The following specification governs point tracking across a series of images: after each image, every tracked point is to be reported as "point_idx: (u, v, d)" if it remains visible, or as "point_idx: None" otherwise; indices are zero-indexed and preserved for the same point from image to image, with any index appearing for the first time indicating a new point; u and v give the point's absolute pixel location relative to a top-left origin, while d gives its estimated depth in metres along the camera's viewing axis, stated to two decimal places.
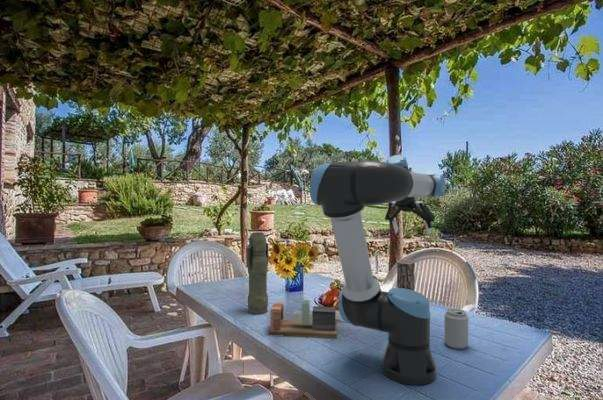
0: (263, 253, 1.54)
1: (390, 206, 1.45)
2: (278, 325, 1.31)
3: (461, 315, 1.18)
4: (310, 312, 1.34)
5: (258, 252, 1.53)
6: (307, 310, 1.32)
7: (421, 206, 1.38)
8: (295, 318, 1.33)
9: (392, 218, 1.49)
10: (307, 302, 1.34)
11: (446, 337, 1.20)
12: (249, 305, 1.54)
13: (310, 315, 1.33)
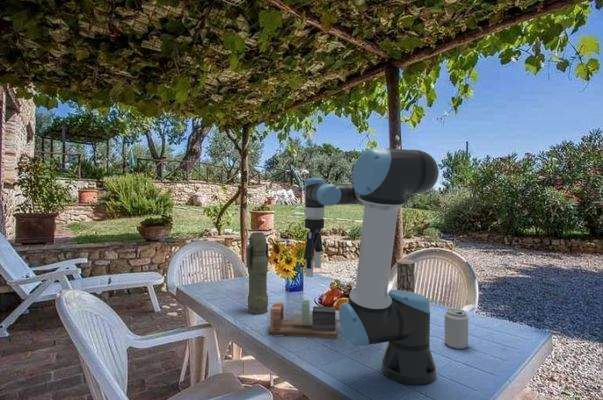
0: (263, 253, 1.54)
1: (313, 237, 1.30)
2: (278, 325, 1.31)
3: (461, 315, 1.18)
4: (310, 312, 1.34)
5: (258, 252, 1.53)
6: (307, 310, 1.32)
7: (320, 231, 1.42)
8: (295, 318, 1.33)
9: (312, 254, 1.30)
10: (307, 302, 1.34)
11: (446, 337, 1.20)
12: (249, 305, 1.54)
13: (310, 315, 1.33)
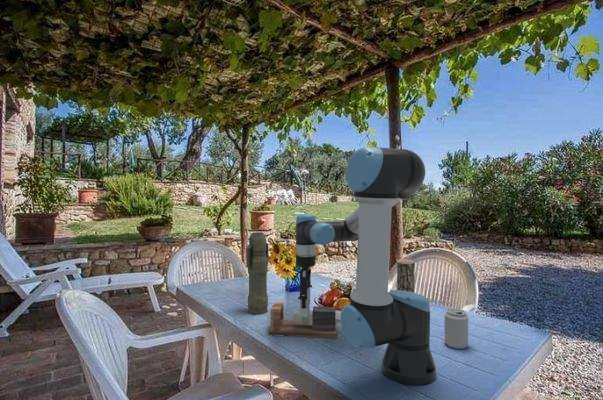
0: (263, 253, 1.54)
1: (307, 276, 1.28)
2: (278, 325, 1.31)
3: (461, 315, 1.18)
4: (310, 312, 1.34)
5: (258, 252, 1.53)
6: None
7: (309, 267, 1.40)
8: (295, 318, 1.33)
9: None
10: None
11: (446, 337, 1.20)
12: (249, 305, 1.54)
13: (310, 315, 1.33)
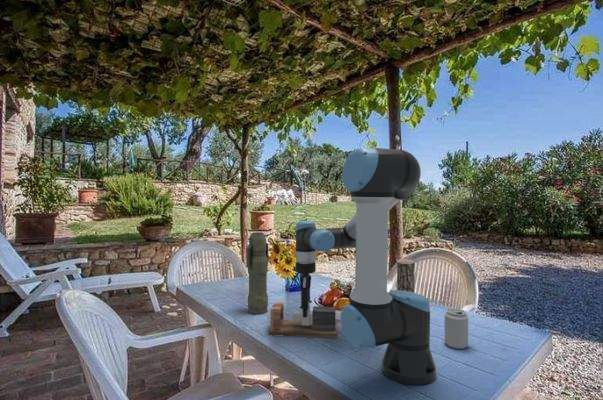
0: (263, 253, 1.54)
1: (307, 286, 1.29)
2: (278, 325, 1.31)
3: (461, 315, 1.18)
4: (310, 312, 1.34)
5: (258, 252, 1.53)
6: None
7: None
8: (295, 318, 1.33)
9: None
10: None
11: (446, 337, 1.20)
12: (249, 305, 1.54)
13: (310, 315, 1.33)
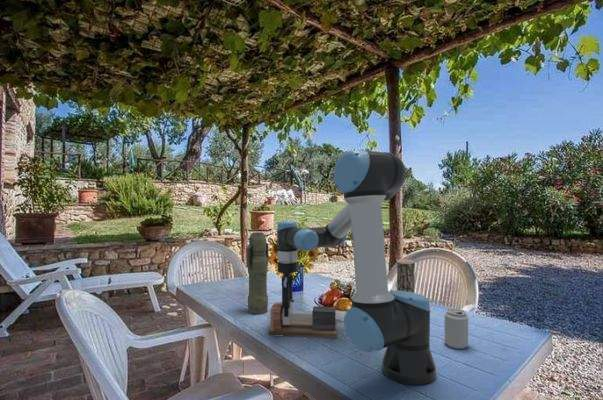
0: (263, 253, 1.54)
1: (288, 285, 1.29)
2: (278, 325, 1.31)
3: (461, 315, 1.18)
4: (292, 311, 1.35)
5: (258, 252, 1.53)
6: None
7: None
8: None
9: (289, 302, 1.32)
10: None
11: (446, 337, 1.20)
12: (249, 305, 1.54)
13: (291, 314, 1.33)
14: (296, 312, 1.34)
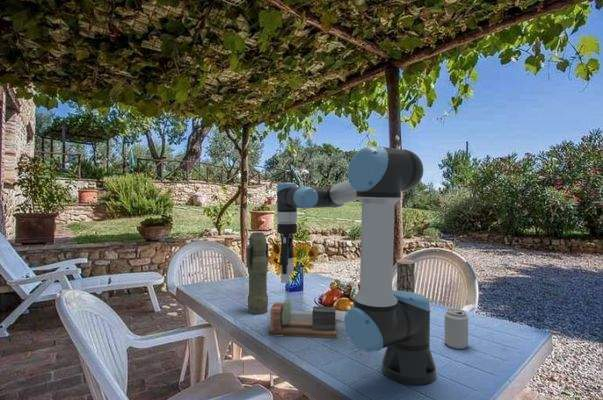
0: (263, 253, 1.54)
1: (288, 242, 1.28)
2: (278, 325, 1.31)
3: (461, 315, 1.18)
4: (292, 311, 1.35)
5: (258, 252, 1.53)
6: (288, 309, 1.33)
7: None
8: None
9: (288, 260, 1.28)
10: (289, 301, 1.34)
11: (446, 337, 1.20)
12: (249, 305, 1.54)
13: (292, 314, 1.33)
14: (296, 312, 1.34)
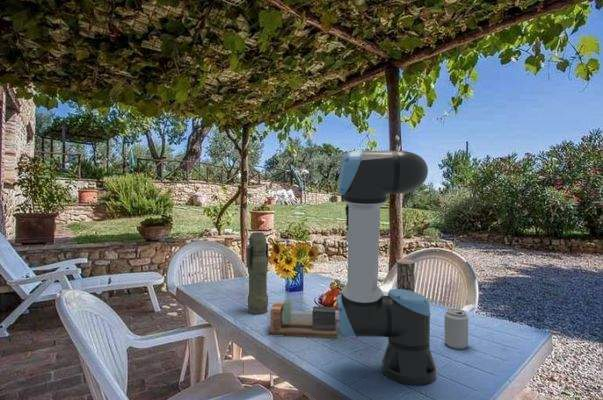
0: (263, 253, 1.54)
1: None
2: (278, 325, 1.31)
3: (461, 315, 1.18)
4: (292, 311, 1.35)
5: (258, 252, 1.53)
6: (288, 309, 1.33)
7: None
8: None
9: None
10: (289, 301, 1.34)
11: (446, 337, 1.20)
12: (249, 305, 1.54)
13: (292, 314, 1.33)
14: (296, 312, 1.34)
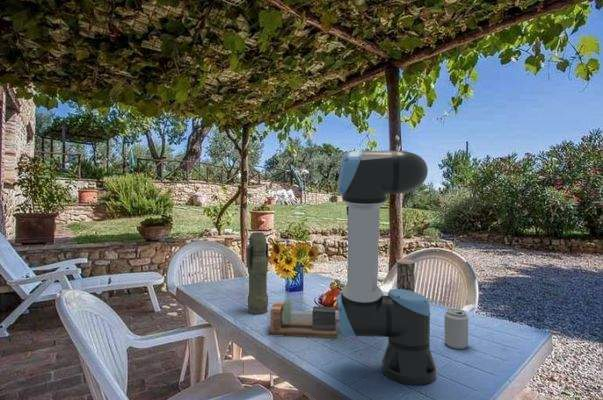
0: (263, 253, 1.54)
1: None
2: (278, 325, 1.31)
3: (461, 315, 1.18)
4: (292, 311, 1.35)
5: (258, 252, 1.53)
6: (288, 309, 1.33)
7: None
8: None
9: None
10: (289, 301, 1.34)
11: (446, 337, 1.20)
12: (249, 305, 1.54)
13: (292, 314, 1.33)
14: (296, 312, 1.34)
